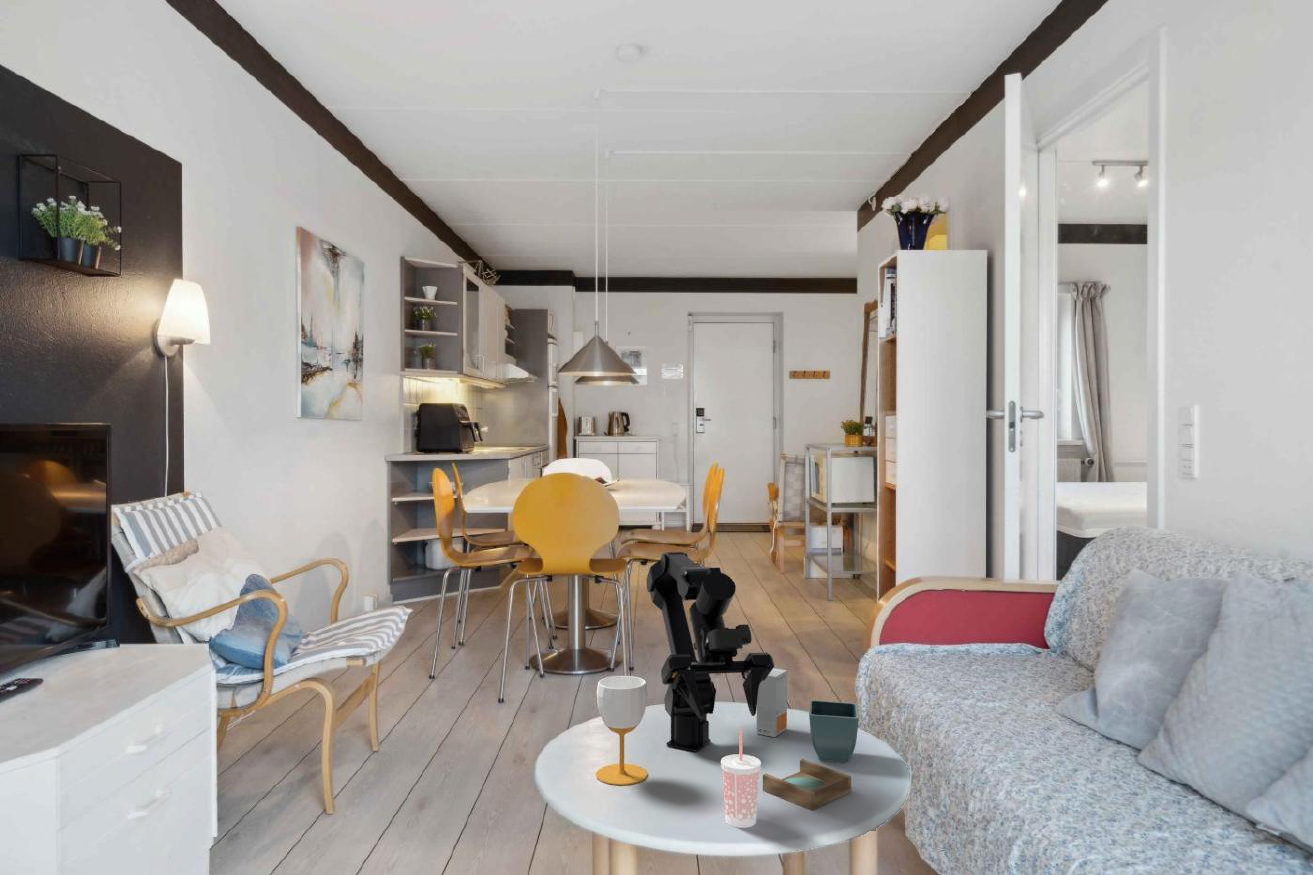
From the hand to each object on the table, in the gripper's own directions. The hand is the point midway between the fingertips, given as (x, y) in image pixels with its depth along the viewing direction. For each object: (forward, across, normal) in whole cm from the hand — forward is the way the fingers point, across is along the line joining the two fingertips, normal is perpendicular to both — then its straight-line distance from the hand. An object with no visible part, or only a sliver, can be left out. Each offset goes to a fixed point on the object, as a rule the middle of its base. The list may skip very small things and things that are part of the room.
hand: (727, 716), depth 133 cm
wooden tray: (+10, +14, +7) cm, 19 cm away
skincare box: (-8, +20, +28) cm, 35 cm away
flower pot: (+2, +25, +16) cm, 30 cm away
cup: (+2, -14, +19) cm, 24 cm away
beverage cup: (+16, -1, +2) cm, 16 cm away
